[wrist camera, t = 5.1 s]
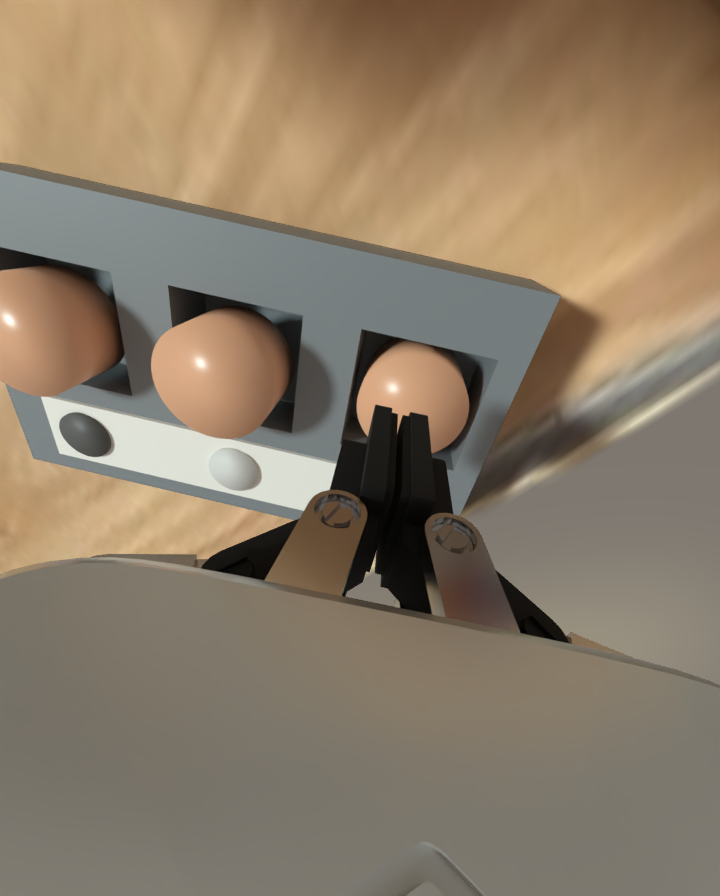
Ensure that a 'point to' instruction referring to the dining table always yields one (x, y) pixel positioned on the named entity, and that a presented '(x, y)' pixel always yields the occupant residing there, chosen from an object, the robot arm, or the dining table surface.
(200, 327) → the button
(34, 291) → the button
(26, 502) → the dining table surface
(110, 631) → the robot arm
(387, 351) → the button
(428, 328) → the button board
